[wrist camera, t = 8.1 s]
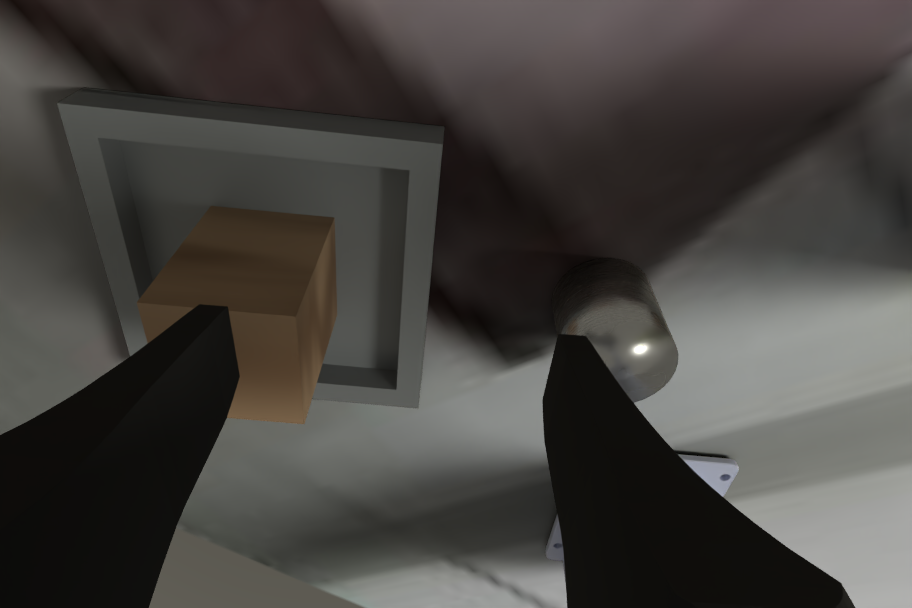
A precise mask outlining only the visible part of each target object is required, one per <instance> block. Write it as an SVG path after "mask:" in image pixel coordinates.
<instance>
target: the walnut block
mask: <svg viewBox="0 0 912 608" xmlns="http://www.w3.org/2000/svg"><path fill="white" fill-rule="evenodd" d="M199 304H203V305H216V306H228V310H229V316H230V322H231V327H232V333H233V339H234V345H235V351H236V357H237V362H238V368H239V374H240V378H239V381H238V384H237V388H236V391H235V394H234V398H233V401H232V404H231V407H230V410H229V413H228V416H227V418H236V419H248V420H261V421H273V422H285V423H297V424H304V423H305V420H306V417H307V413H308V410H309V407H310V403H311V400H312V397H313V393H314V390H315V387H316V383H317V380H318V377H319V374H320V370H321V367H322V364H323V360H324V357H325V354H326V350H327V347H328V344H329V340H330V337H331V334H332V331H333V327H334V324H335V321H336V317H337V286H336V250H335V218H334V217H324V216H313V215H302V214H292V213H281V212H271V211H260V210H250V209H239V208H228V207H218V206H210V208H209V209H208V210H207V212H206V213H205V214H204V215H203V217H202V218H201V219H200V221H199V222H198V223H197V225H196V226H195V227H194V228H193V230H192V231H191V232H190V234H189V235H188V236H187V238H186V239H185V240H184V241H183V243H182V244H181V245H180V247H179V248H178V249H177V251H176V252H175V253H174V255H173V256H172V257H171V258H170V260H169V261H168V262H167V264H166V265H165V266H164V268H163V269H162V270H161V271H160V273H159V274H158V275H157V277H156V278H155V279H154V281H153V282H152V283H151V284H150V286H149V287H148V288H147V290H146V291H145V292H144V294H143V295H142V296H141V298H140V299H139V300H138V301H137V306H138V310H139V313H140V317H141V321H142V324H143V328H144V332H145V335H146V339H147V343H149V342H150V341H152V340H153V339H154V338H156V337H157V336H158V335H160V334H161V333H162V332H163V331H165V330H166V329H167V328H169V327H170V326H171V325H173V324H174V323H175V322H176V321H178V320H179V319H180V318H182V317H183V316H184V315H186V314H187V313H188V312H189V311H191V310H192V309H194V308H195V307H196V306H198V305H199Z"/></svg>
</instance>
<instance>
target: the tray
mask: <svg viewBox="0 0 912 608" xmlns="http://www.w3.org/2000/svg"><path fill="white" fill-rule="evenodd" d="M57 106H58V109H59V112H60V116H61V119H62V123H63V126H64V130H65V133H66V137H67V140H68V143H69V147H70V150H71V154H72V157H73V161H74V164H75V168H76V171H77V175H78V178H79V181H80V185H81V188H82V192H83V195H84V199H85V202H86V206H87V209H88V213H89V216H90V219H91V223H92V226H93V230H94V233H95V237H96V240H97V244H98V247H99V251H100V254H101V257H102V261H103V264H104V268H105V271H106V275H107V278H108V282H109V285H110V288H111V292H112V295H113V299H114V302H115V306H116V309H117V313H118V316H119V320H120V323H121V326H122V330H123V333H124V337H125V340H126V344H127V347H128V351H129V354H130V356H132V355H133V354H134V353H136V352H137V351H138V350H140V349H141V348H142V347H144V346H145V345H146V344H148V343H147V339H146V335H145V332H144V328H143V324H142V321H141V317H140V313H139V310H138V306H137V301H138V300H139V299H140V298H141V296H142V295H143V294H144V292H145V291H146V290H147V288H148V287H149V286H150V284H151V283H152V282H153V281H154V279H155V278H156V277H157V275H158V274H159V273H160V271H161V270H162V269H163V268H164V266H165V265H166V264H167V262H168V261H169V260H170V258H171V257H172V256H173V255H174V253H175V252H176V251H177V249H178V248H179V247H180V245H181V244H182V243H183V241H184V240H185V239H186V238H187V236H188V235H189V234H190V232H191V231H192V230H193V228H194V227H195V226H196V225H197V223H198V222H199V221H200V219H201V218H202V217H203V215H204V214H205V213H206V212H207V210H208V209H209V208H210V206H218V207H228V208H239V209H250V210H260V211H271V212H281V213H292V214H302V215H313V216H324V217H334V218H335V250H336V286H337V317H336V321H335V324H334V327H333V331H332V334H331V337H330V340H329V344H328V347H327V350H326V354H325V357H324V360H323V364H322V367H321V370H320V374H319V377H318V380H317V383H316V387H315V390H314V393H313V397H312V399H317V400H328V401H339V402H351V403H362V404H373V405H385V406H396V407H407V408H419V398H420V388H421V377H422V367H423V356H424V345H425V334H426V323H427V312H428V301H429V291H430V280H431V269H432V258H433V247H434V236H435V226H436V215H437V204H438V193H439V182H440V171H441V160H442V150H443V139H444V128H445V126H436V125H426V124H417V123H408V122H399V121H389V120H380V119H371V118H362V117H352V116H343V115H334V114H324V113H315V112H306V111H297V110H287V109H278V108H269V107H260V106H250V105H241V104H232V103H223V102H213V101H204V100H195V99H185V98H176V97H167V96H158V95H148V94H139V93H130V92H121V91H111V90H102V89H93V88H82V89H80V90H79V91H77V92H75V93H73V94H72V95H70V96H68V97H66V98H65V99H63V100H61V101H59V102H58V103H57Z"/></svg>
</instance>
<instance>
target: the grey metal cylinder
mask: <svg viewBox="0 0 912 608" xmlns="http://www.w3.org/2000/svg"><path fill="white" fill-rule="evenodd" d="M552 309H553V315H554V321H555V326H556V332H557V338H558V334H570V335H582V336H587V338H588V339H589V340H590V342H591V343H592V345H593V346H594V348H595V349H596V351H597V352H598V354H599V355H600V357H601V358H602V360H603V361H604V363H605V364H606V366H607V367H608V368H609V370H610V371H611V373H612V374H613V376H614V377H615V379H616V380H617V381H618V383H619V384H620V386H621V387H622V388H623V390H624V391H625V392H626V394H627V395H628V396H629V398H630V399H631V400H632V402H633V403H634V402H637V401H640V400H643V399H645V398H647V397H649V396H651V395H653V394H655V393H656V392H657V391H659V390H660V389H661V388H663V387H664V386H665V385H666V384H667V383H668V382H669V380H670V379H671V377H672V376H673V374H674V372H675V370H676V367H677V364H678V351H677V347H676V345H675V343H674V340H673V338H672V335H671V333H670V331H669V328H668V326H667V323H666V321H665V319H664V316H663V314H662V311H661V309H660V307H659V304H658V302H657V300H656V297H655V295H654V292H653V290H652V288H651V285H650V283H649V280H648V278H647V277H646V275H645V274H644V273H643V272H642V270H640V269H639V268H638V267H637V266H635V265H633V264H632V263H629V262H627V261H624V260H621V259H615V258H600V259H594V260H591V261H587V262H584V263H582V264H580V265H578V266H576V267H574V268H573V269H571V270H570V271H569V272H568V273H566V274H565V275H564V276H563V277H562V278H561V280H560V281H559V282H558V284H557V286H556V288H555V290H554V293H553V296H552Z"/></svg>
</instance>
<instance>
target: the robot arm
mask: <svg viewBox="0 0 912 608" xmlns="http://www.w3.org/2000/svg"><path fill="white" fill-rule="evenodd" d="M239 378H240V374H239V368H238V362H237V357H236V351H235V345H234V339H233V333H232V327H231V322H230V316H229V310H228V306H216V305H203V304H199V305H198V306H196V307H195V308H194V309H192V310H191V311H189V312H188V313H187V314H186V315H184V316H183V317H182V318H180V319H179V320H178V321H176V322H175V323H174V324H173V325H171V326H170V327H169V328H167V329H166V330H165V331H163V332H162V333H161V334H160V335H158V336H157V337H156V338H154V339H153V340H152V341H150V342H149V343H148V344H146V345H145V346H144V347H142V348H141V349H140V350H138V351H137V352H136V353H134V354H133V355H132V356H130V357H129V358H128V359H126V360H125V361H123V362H122V363H120V364H119V365H118V366H116V367H115V368H113V369H112V370H110V371H109V372H107V373H106V374H104V375H103V376H101V377H100V378H98V379H97V380H95V381H94V382H93V383H91V384H90V385H88V386H87V387H85V388H84V389H82V390H81V391H79V392H77V393H76V394H74V395H73V396H71V397H69V398H68V399H66V400H64V401H63V402H61V403H59V404H58V405H56V406H54V407H52V408H51V409H49V410H47V411H45V412H44V413H42V414H40V415H38V416H37V417H35V418H33V419H31V420H29V421H27V422H26V423H24V424H22V425H20V426H18V427H16V428H14V429H12V430H10V431H8V432H6V433H4V434H2V435H0V608H149V605H150V602H151V598H152V596H153V593H154V590H155V586H156V583H157V581H158V577H159V574H160V571H161V568H162V565H163V563H164V559H165V557H166V554H167V551H168V549H169V546H170V542H171V540H172V537H173V534H174V532H175V529H176V526H177V523H178V521H179V519H180V516H181V514H182V512H183V509H184V507H185V505H186V503H187V500H188V498H189V496H190V494H191V492H192V490H193V488H194V486H195V484H196V482H197V480H198V478H199V475H200V473H201V471H202V469H203V467H204V465H205V463H206V461H207V459H208V457H209V455H210V453H211V450H212V448H213V446H214V444H215V442H216V440H217V438H218V436H219V433H220V431H221V429H222V427H223V425H224V423H225V420H226V418H227V416H228V413H229V410H230V407H231V404H232V401H233V398H234V394H235V391H236V388H237V384H238V381H239ZM543 423H544V439H545V446H546V452H547V458H548V464H549V470H550V475H551V481H552V486H553V492H554V497H555V503H556V508H557V516H556V519H555V522H554V525H553V528H552V531H551V534H550V537H549V540H548V543H547V546H546V549H545V553H546V557H547V558H548V559H550V560H558V561H563V566H564V574H565V581H566V592H567V607H568V608H855V606H854V605H853V603H852V601H851V599H850V598H849V596H848V594H847V592H846V591H845V589H844V587H843V586H842V584H841V583H840V582H839V581H837V580H836V579H834V578H833V577H831V576H830V575H828V574H827V573H825V572H824V571H822V570H821V569H819V568H817V567H816V566H814V565H813V564H811V563H810V562H808V561H807V560H805V559H804V558H802V557H801V556H799V555H798V554H796V553H795V552H793V551H792V550H790V549H789V548H787V547H786V546H785V545H783V544H782V543H781V542H779V541H778V540H777V539H775V538H774V537H772V536H771V535H770V534H768V533H767V532H766V531H764V530H763V529H762V528H760V527H759V526H758V525H756V524H755V523H754V522H753V521H751V520H750V519H749V518H748V517H746V516H745V515H744V514H743V513H741V512H740V511H739V510H738V509H736V508H735V507H734V506H733V505H732V504H730V503H729V502H728V501H727V500H726V499H725V498H723V496H724V495H725V493H726V491H727V489H728V488H729V486H730V484H731V483H732V481H733V479H734V478H735V476H736V474H737V473H738V471H739V467H738V465H737V463H736V461H735V460H733V459H727V458H716V457H704V456H693V455H681V454H677V453H676V452H675V451H674V450H673V449H672V448H671V447H670V446H669V445H668V444H667V443H666V442H665V441H664V439H663V438H662V437H661V436H660V435H659V434H658V432H657V431H656V430H655V429H654V428H653V427H652V425H651V424H650V423H649V422H648V421H647V419H646V418H645V417H644V416H643V414H642V413H641V412H640V411H639V409H638V408H637V407H636V405H635V404H634V403H633V402H632V400H631V399H630V398H629V396H628V395H627V394H626V392H625V391H624V390H623V388H622V387H621V386H620V384H619V383H618V381H617V380H616V379H615V377H614V376H613V374H612V373H611V371H610V370H609V368H608V367H607V366H606V364H605V363H604V361H603V360H602V358H601V357H600V355H599V354H598V352H597V351H596V349H595V348H594V346H593V345H592V343H591V342H590V340H589V339H588V338H587V336H582V335H570V334H558V338H557V342H556V346H555V350H554V354H553V358H552V363H551V367H550V371H549V375H548V379H547V384H546V388H545V392H544V396H543Z"/></svg>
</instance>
